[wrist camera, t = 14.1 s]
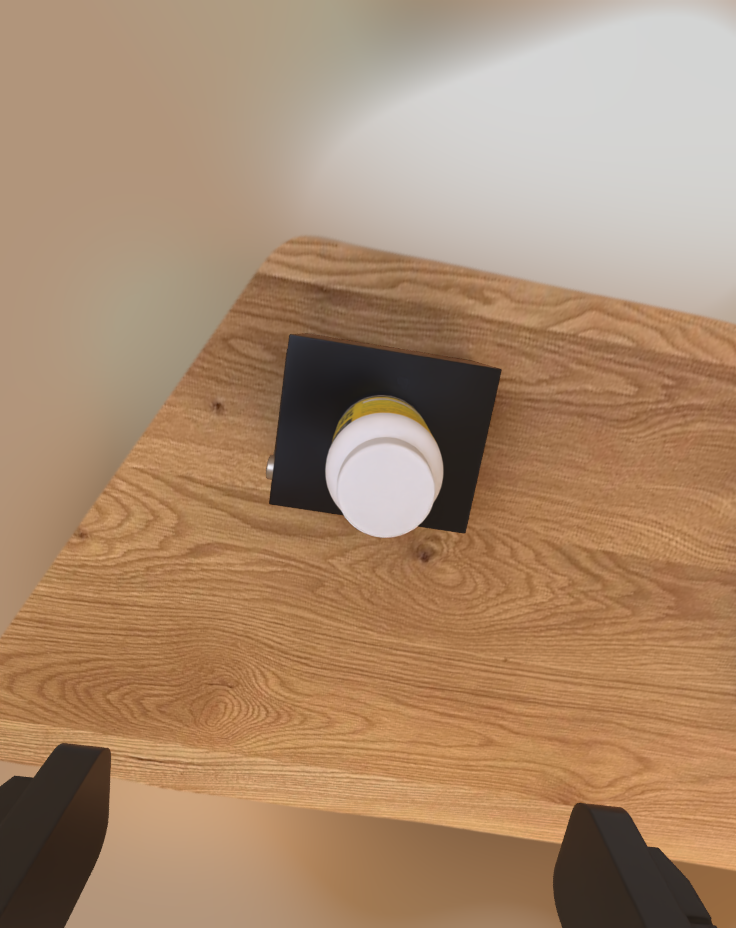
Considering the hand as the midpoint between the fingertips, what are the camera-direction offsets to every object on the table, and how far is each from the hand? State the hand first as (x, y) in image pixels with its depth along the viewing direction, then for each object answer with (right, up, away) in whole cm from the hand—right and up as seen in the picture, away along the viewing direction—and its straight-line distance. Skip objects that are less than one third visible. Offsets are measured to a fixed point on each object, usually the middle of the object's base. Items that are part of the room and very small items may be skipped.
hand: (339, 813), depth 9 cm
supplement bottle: (+1, +7, +22) cm, 23 cm away
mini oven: (+1, +9, +29) cm, 31 cm away
